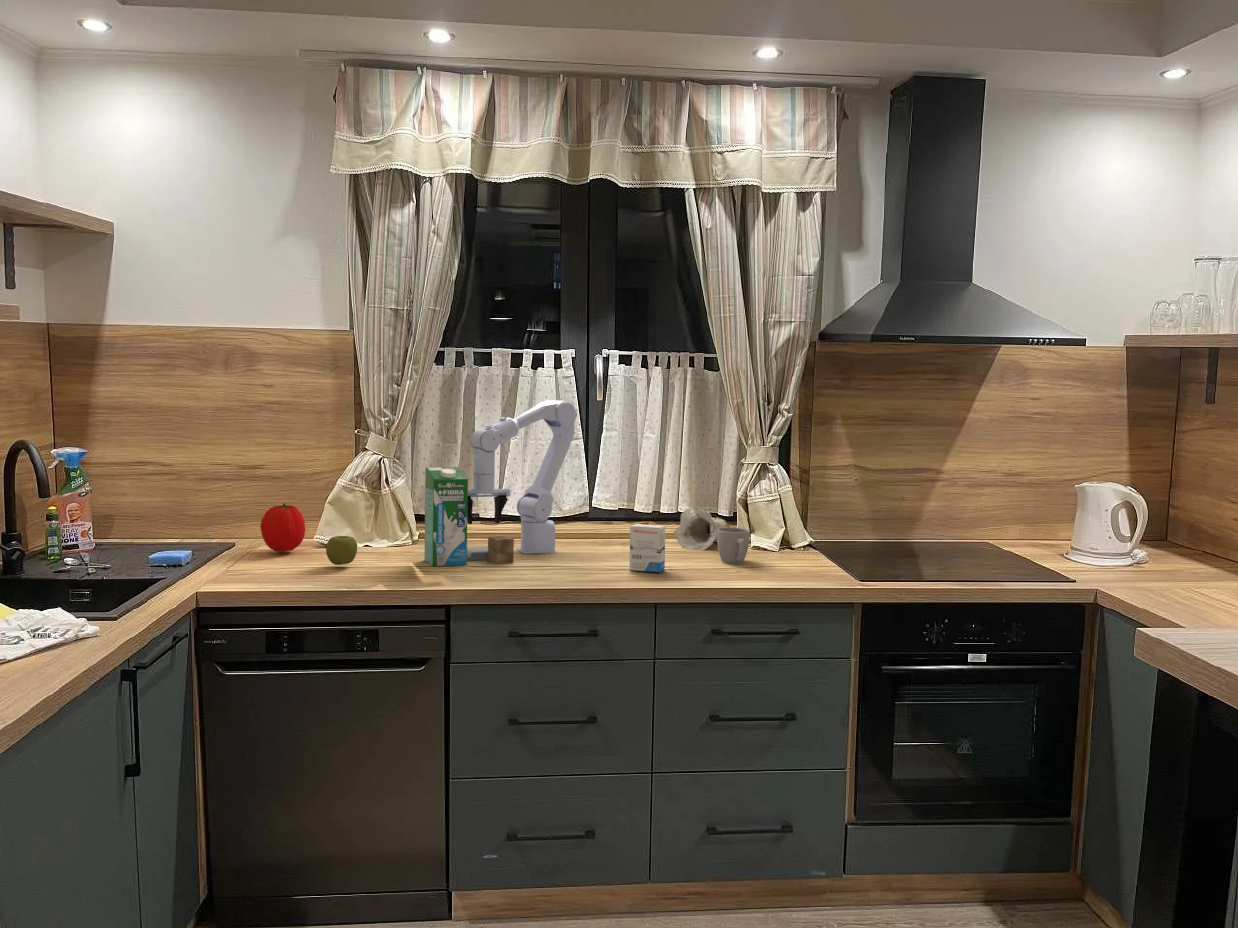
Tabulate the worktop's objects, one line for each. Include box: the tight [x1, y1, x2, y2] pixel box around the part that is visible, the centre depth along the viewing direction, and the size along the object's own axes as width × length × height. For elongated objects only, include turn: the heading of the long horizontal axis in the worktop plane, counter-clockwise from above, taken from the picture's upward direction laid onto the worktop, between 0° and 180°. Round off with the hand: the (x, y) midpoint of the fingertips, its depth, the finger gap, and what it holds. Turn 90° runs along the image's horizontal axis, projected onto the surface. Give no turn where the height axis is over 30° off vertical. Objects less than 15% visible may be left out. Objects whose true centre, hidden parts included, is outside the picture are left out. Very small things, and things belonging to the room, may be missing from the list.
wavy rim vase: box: [673, 507, 731, 551], centre depth 277 cm, size 12×13×18 cm
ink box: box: [629, 523, 666, 573], centre depth 243 cm, size 9×5×12 cm, turn 71°
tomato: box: [260, 502, 306, 552], centre depth 254 cm, size 12×12×13 cm
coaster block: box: [467, 545, 488, 562], centre depth 255 cm, size 9×9×3 cm
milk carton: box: [423, 466, 469, 568], centre depth 244 cm, size 9×9×25 cm
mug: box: [717, 526, 751, 565], centre depth 252 cm, size 12×9×10 cm
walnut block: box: [487, 535, 515, 565], centre depth 248 cm, size 5×5×6 cm
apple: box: [325, 535, 358, 566], centre depth 239 cm, size 8×8×7 cm
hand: (483, 523), depth 254 cm, fingers open, 7 cm apart
